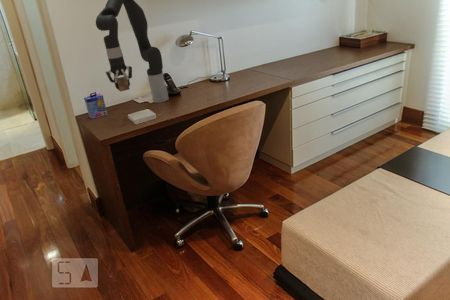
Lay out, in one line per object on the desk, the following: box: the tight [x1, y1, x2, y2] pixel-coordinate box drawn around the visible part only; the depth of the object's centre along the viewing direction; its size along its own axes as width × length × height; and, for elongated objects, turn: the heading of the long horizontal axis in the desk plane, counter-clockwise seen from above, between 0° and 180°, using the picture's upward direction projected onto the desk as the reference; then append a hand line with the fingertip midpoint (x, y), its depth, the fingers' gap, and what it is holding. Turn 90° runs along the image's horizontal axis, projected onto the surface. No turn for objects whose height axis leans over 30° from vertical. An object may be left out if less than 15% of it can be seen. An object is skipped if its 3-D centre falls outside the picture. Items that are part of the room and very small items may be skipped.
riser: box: [127, 108, 157, 125], centre depth 199 cm, size 12×12×3 cm
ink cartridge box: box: [83, 91, 108, 120], centre depth 209 cm, size 10×6×14 cm, turn 127°
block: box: [117, 76, 130, 92], centre depth 192 cm, size 5×5×6 cm
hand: (123, 87), depth 193 cm, fingers closed on block, 5 cm apart
